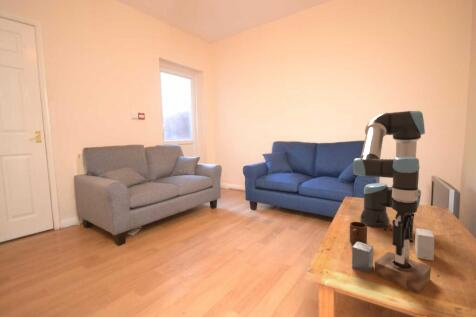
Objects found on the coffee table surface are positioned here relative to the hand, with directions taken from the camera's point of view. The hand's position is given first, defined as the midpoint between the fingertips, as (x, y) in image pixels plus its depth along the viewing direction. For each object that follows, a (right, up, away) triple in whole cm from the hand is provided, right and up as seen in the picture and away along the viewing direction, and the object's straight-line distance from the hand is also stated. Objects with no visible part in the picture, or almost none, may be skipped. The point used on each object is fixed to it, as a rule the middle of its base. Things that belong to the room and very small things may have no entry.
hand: (402, 260), depth 86 cm
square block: (-11, -6, +8) cm, 15 cm away
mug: (-3, -4, +26) cm, 27 cm away
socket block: (0, -7, +1) cm, 7 cm away
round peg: (0, -4, 0) cm, 4 cm away
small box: (+20, -4, +14) cm, 25 cm away
